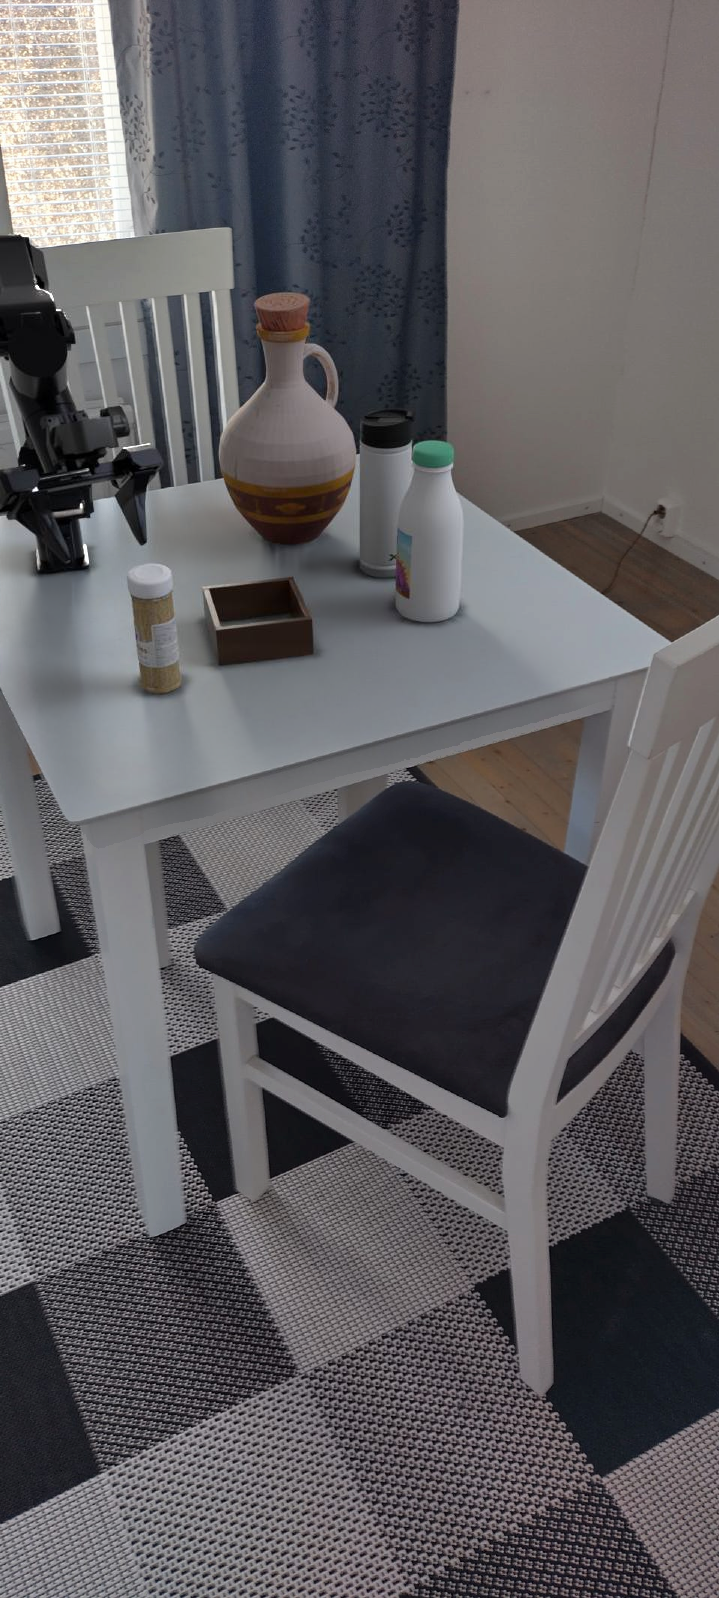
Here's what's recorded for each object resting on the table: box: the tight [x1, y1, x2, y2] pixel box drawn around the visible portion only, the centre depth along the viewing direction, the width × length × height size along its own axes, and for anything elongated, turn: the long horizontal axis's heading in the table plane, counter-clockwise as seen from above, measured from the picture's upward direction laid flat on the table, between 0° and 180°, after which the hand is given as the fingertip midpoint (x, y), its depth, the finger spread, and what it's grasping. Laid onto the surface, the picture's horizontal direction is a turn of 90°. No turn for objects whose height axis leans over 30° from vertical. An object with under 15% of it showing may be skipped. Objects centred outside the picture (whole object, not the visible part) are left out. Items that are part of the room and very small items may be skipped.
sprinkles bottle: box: [126, 563, 183, 694], centre depth 124 cm, size 5×5×13 cm
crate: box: [201, 576, 314, 667], centre depth 135 cm, size 11×11×4 cm
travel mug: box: [359, 408, 417, 579], centre depth 145 cm, size 6×7×20 cm
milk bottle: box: [394, 440, 464, 623], centre depth 136 cm, size 8×8×20 cm
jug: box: [218, 291, 357, 546], centre depth 151 cm, size 20×18×30 cm
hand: (106, 552), depth 126 cm, fingers open, 9 cm apart
